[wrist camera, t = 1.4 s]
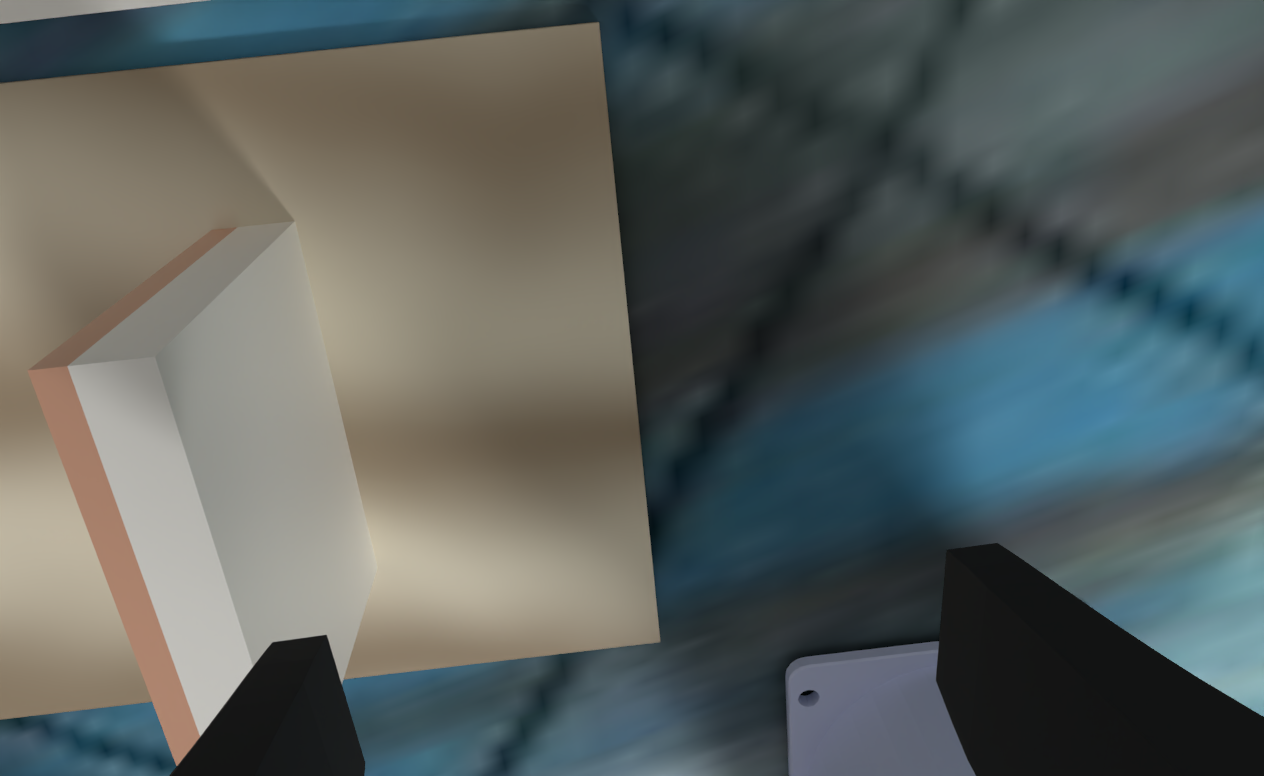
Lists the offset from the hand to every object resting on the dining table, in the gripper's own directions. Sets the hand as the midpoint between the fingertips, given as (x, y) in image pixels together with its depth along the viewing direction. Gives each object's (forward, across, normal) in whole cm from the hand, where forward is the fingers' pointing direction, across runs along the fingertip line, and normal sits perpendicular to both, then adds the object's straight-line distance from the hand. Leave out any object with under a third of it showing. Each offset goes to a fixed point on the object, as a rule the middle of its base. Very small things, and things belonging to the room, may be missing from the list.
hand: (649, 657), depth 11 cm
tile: (+10, +6, +1) cm, 12 cm away
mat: (+10, +8, +1) cm, 13 cm away
